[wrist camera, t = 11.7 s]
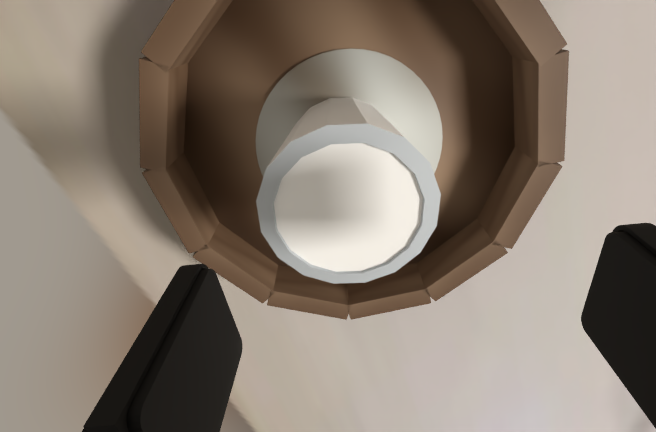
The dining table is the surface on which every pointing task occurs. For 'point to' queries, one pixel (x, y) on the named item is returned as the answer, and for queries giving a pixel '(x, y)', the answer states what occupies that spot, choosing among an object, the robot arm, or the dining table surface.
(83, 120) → the dining table surface
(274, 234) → the white cup
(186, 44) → the round wooden tray
